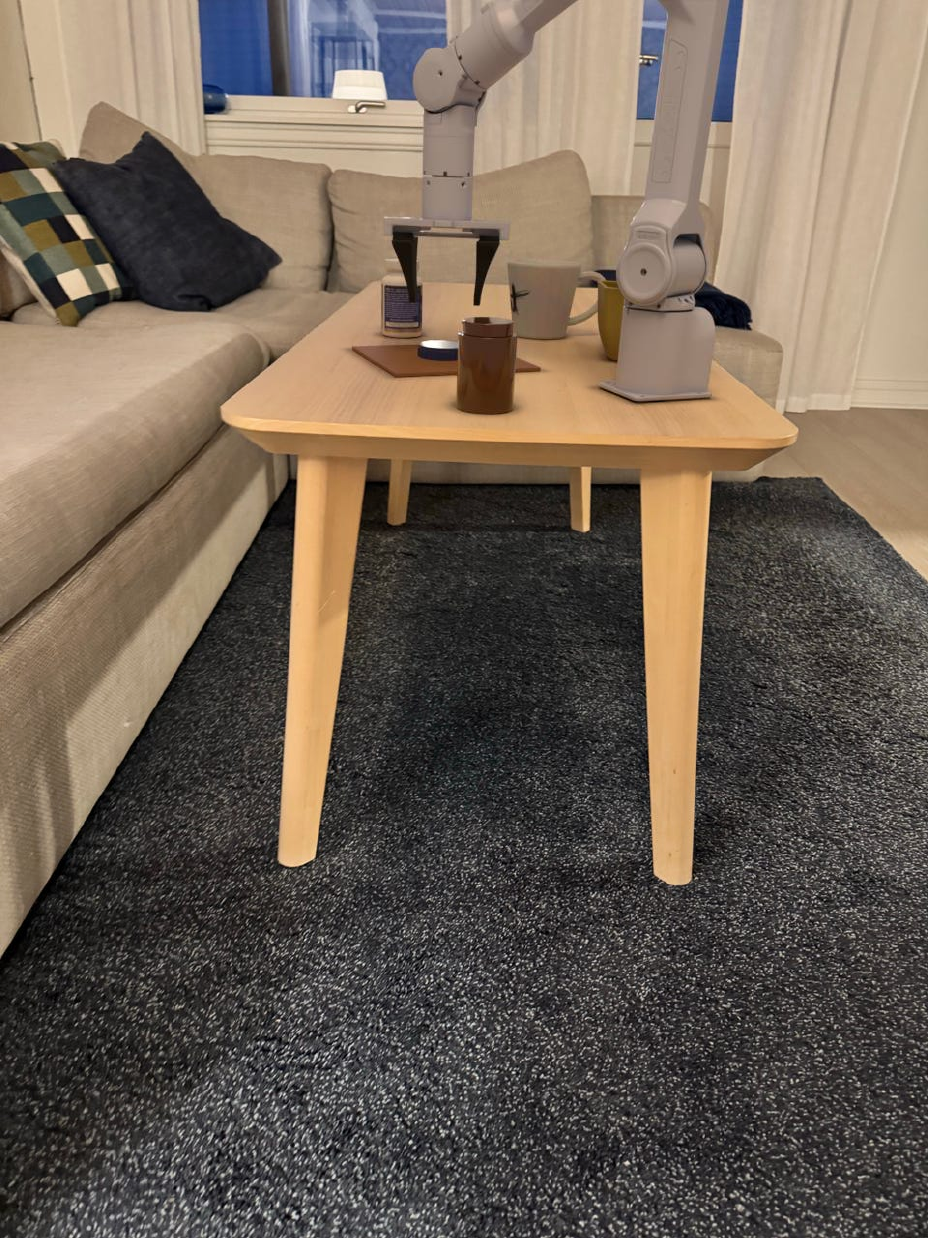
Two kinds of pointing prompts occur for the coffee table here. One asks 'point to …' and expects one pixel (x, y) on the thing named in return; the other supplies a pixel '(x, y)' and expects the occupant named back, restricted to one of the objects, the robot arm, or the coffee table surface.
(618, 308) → the flower pot
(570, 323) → the mug
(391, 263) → the pill bottle
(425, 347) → the lid
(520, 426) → the coffee table surface
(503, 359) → the jar
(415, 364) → the mat
